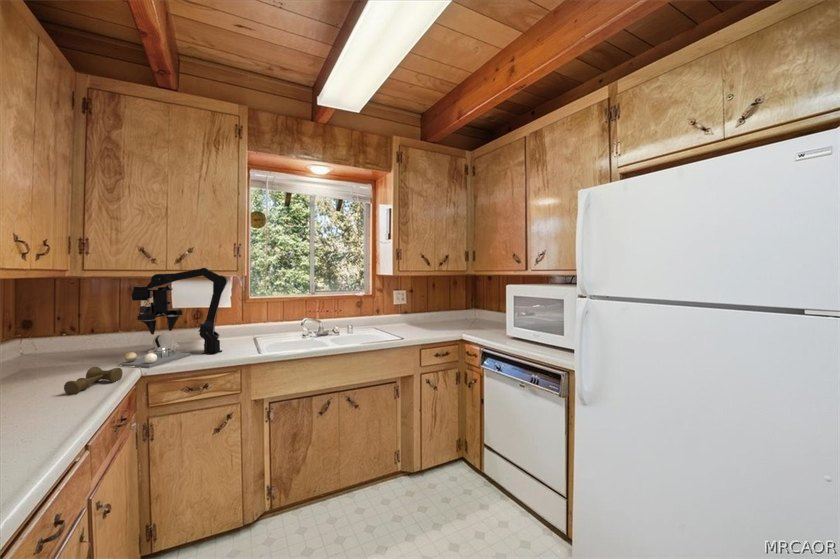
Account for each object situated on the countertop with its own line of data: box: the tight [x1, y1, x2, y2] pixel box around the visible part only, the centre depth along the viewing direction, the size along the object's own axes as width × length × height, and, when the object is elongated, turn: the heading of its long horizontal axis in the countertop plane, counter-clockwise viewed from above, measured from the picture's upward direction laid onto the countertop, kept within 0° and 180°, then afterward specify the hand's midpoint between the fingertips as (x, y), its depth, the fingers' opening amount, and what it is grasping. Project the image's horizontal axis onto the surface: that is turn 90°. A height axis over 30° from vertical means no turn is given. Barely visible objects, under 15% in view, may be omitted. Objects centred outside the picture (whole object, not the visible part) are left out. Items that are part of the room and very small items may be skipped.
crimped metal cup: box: [147, 348, 177, 358], centre depth 166 cm, size 10×10×2 cm
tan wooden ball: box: [123, 351, 138, 362], centre depth 155 cm, size 4×4×4 cm
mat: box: [118, 352, 192, 369], centre depth 161 cm, size 16×21×1 cm
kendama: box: [63, 366, 124, 396], centre depth 129 cm, size 6×10×20 cm
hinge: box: [152, 332, 180, 350], centre depth 181 cm, size 17×5×10 cm, turn 20°
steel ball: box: [157, 346, 168, 352], centre depth 166 cm, size 4×4×4 cm
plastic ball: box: [144, 353, 157, 363], centre depth 153 cm, size 4×4×4 cm
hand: (161, 332), depth 167 cm, fingers open, 9 cm apart
